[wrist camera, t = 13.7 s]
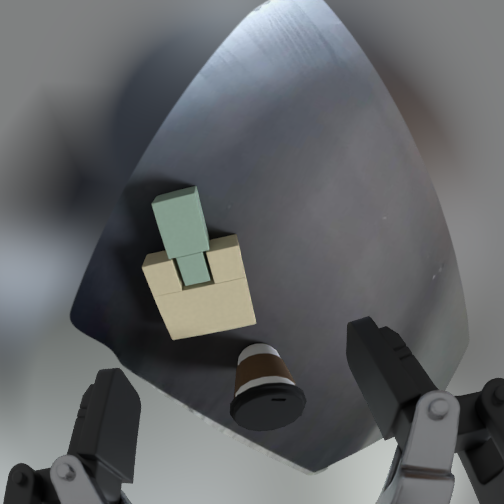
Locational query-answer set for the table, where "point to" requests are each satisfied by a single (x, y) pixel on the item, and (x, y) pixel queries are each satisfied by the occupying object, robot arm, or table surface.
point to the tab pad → (184, 232)
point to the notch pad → (202, 292)
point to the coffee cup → (265, 391)
